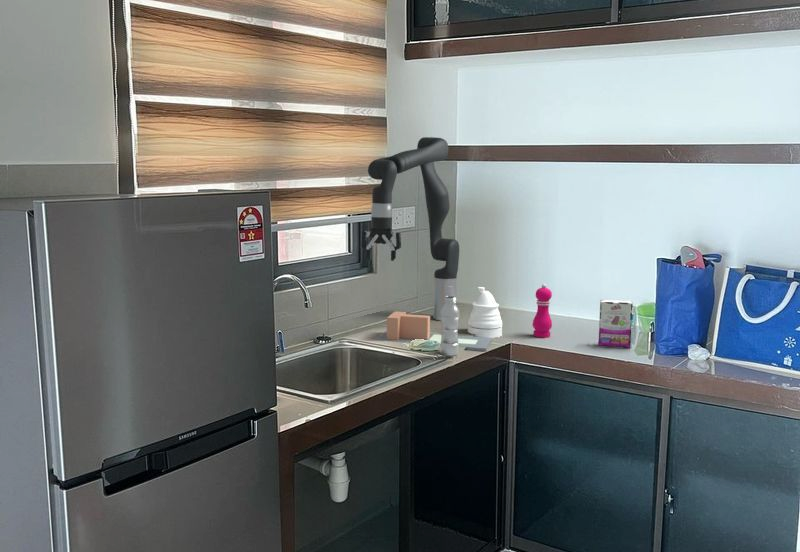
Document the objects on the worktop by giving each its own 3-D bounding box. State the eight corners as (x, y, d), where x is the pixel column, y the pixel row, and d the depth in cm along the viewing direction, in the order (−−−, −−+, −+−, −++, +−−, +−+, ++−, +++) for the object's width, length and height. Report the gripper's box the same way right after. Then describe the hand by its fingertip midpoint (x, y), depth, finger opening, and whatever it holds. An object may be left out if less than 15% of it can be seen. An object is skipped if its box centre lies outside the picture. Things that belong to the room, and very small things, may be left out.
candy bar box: (629, 345, 276) (632, 300, 274) (630, 348, 271) (633, 303, 269) (597, 343, 279) (600, 298, 276) (597, 346, 274) (600, 301, 271)
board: (386, 332, 289) (386, 330, 289) (492, 340, 280) (492, 337, 280) (374, 342, 273) (374, 340, 273) (486, 351, 263) (486, 348, 263)
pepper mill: (555, 336, 289) (557, 283, 286) (544, 339, 284) (547, 285, 281) (538, 333, 294) (541, 281, 291) (528, 335, 289) (530, 283, 286)
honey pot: (473, 338, 282) (475, 290, 280) (463, 331, 295) (464, 285, 292) (506, 337, 285) (508, 290, 282) (495, 330, 297) (497, 284, 295)
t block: (394, 332, 286) (395, 311, 284) (431, 335, 282) (432, 313, 281) (386, 339, 274) (387, 317, 273) (425, 342, 271) (425, 320, 270)
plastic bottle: (446, 359, 251) (447, 299, 248) (435, 354, 257) (437, 296, 254) (462, 357, 254) (464, 298, 251) (452, 352, 260) (453, 294, 257)
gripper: (403, 215, 280) (402, 259, 282) (365, 214, 282) (364, 258, 285) (398, 217, 272) (397, 262, 275) (360, 215, 275) (359, 260, 278)
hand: (381, 260), depth 280 cm, fingers open, 8 cm apart
